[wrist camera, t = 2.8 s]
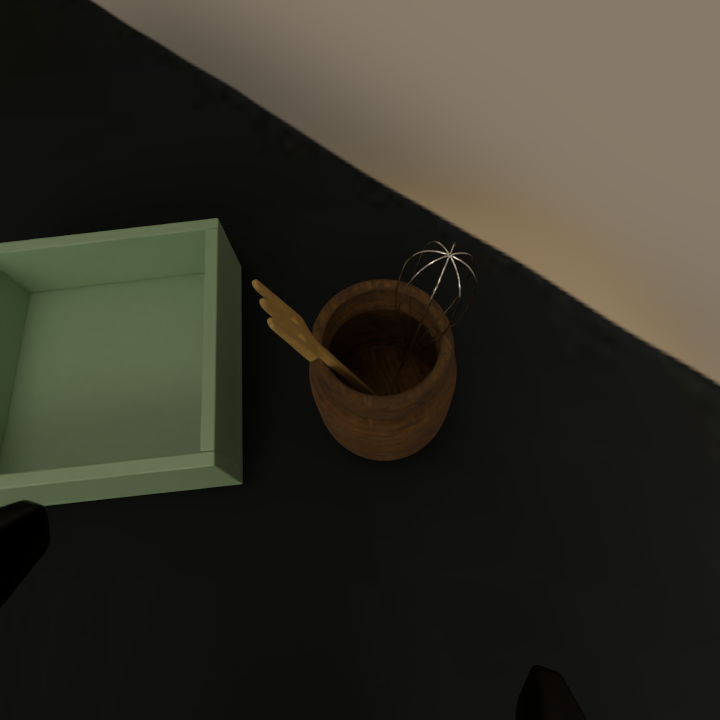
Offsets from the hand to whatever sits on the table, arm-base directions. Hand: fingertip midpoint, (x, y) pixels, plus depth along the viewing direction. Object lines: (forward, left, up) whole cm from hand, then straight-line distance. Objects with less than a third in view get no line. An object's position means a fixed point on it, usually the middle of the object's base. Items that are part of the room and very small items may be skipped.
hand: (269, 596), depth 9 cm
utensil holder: (+5, +7, -14) cm, 16 cm away
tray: (-6, +13, -13) cm, 20 cm away
